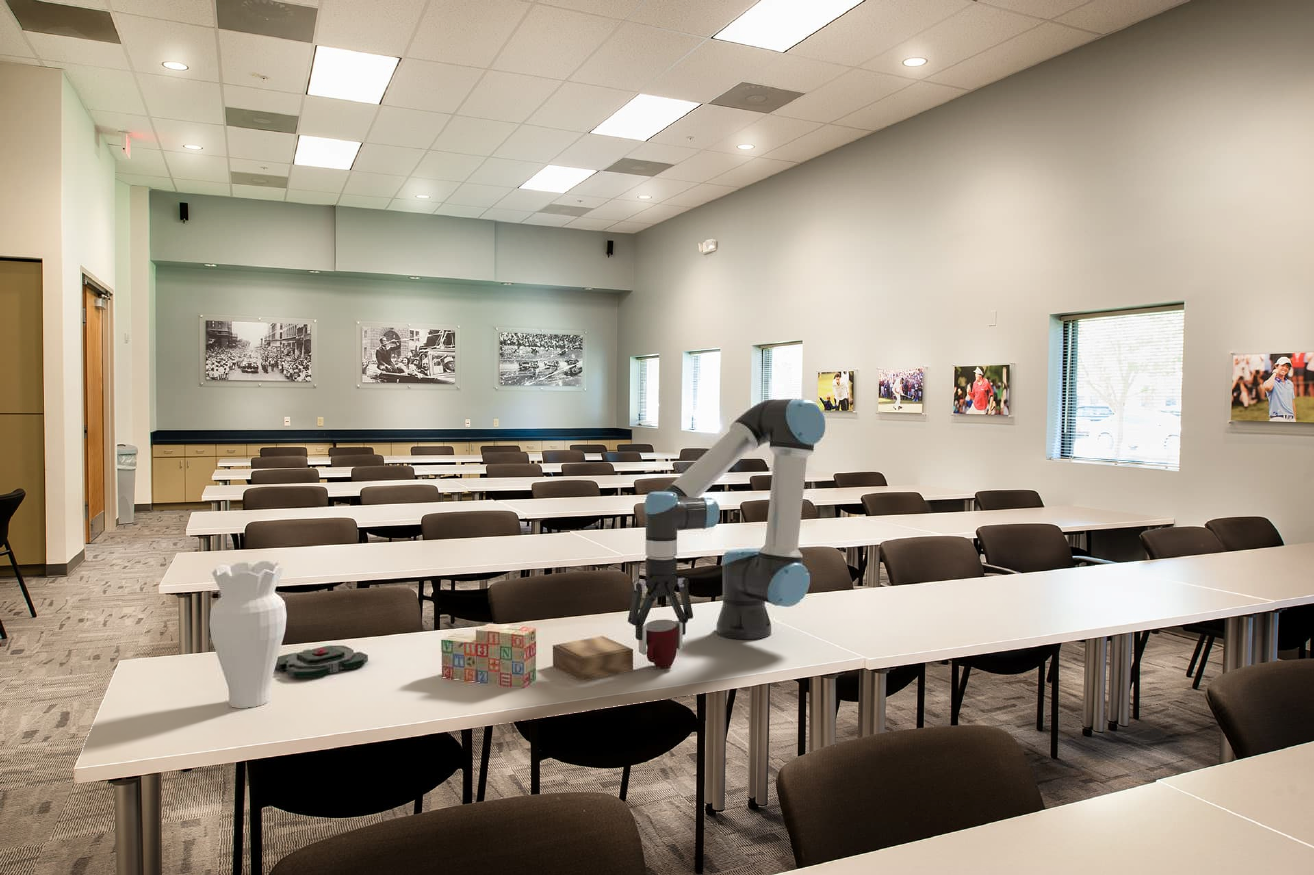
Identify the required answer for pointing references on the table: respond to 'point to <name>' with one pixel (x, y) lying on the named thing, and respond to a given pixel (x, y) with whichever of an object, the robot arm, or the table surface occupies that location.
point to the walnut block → (592, 658)
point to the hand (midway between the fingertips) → (660, 650)
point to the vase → (248, 629)
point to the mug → (661, 642)
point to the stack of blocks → (492, 655)
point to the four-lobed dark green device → (320, 661)
